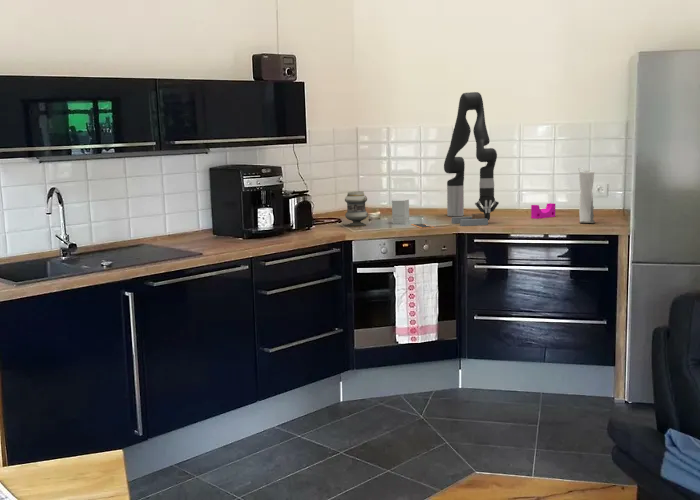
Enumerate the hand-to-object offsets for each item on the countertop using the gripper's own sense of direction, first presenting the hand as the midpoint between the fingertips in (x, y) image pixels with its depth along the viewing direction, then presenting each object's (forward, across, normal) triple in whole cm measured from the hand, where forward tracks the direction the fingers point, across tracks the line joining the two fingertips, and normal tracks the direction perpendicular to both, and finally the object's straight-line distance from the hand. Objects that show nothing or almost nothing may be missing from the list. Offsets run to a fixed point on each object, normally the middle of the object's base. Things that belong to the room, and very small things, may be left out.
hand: (486, 220), depth 418 cm
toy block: (+2, -38, -14) cm, 41 cm away
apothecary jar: (+2, +66, -17) cm, 68 cm away
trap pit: (+2, +35, -1) cm, 35 cm away
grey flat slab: (+2, +10, 0) cm, 10 cm away
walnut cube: (+2, +5, 0) cm, 5 cm away
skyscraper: (+2, -48, +17) cm, 50 cm away
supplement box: (+2, +41, -19) cm, 45 cm away
